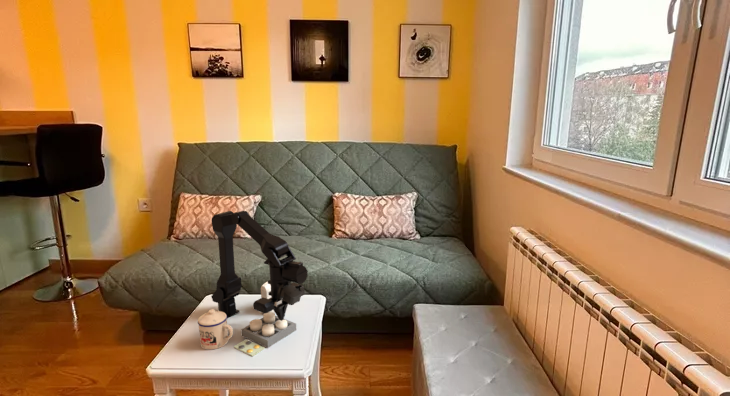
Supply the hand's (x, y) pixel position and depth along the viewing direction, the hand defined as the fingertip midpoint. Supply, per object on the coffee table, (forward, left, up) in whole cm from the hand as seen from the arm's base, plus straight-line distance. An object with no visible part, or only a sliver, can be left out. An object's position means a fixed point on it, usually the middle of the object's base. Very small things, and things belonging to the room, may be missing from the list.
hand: (281, 319), depth 139 cm
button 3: (-6, 0, -2) cm, 7 cm away
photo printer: (-14, +10, -5) cm, 18 cm away
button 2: (0, -6, -2) cm, 6 cm away
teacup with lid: (-12, -17, -5) cm, 21 cm away
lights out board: (-3, -6, -4) cm, 8 cm away
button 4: (0, 0, -4) cm, 4 cm away
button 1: (-6, -6, -2) cm, 9 cm away
